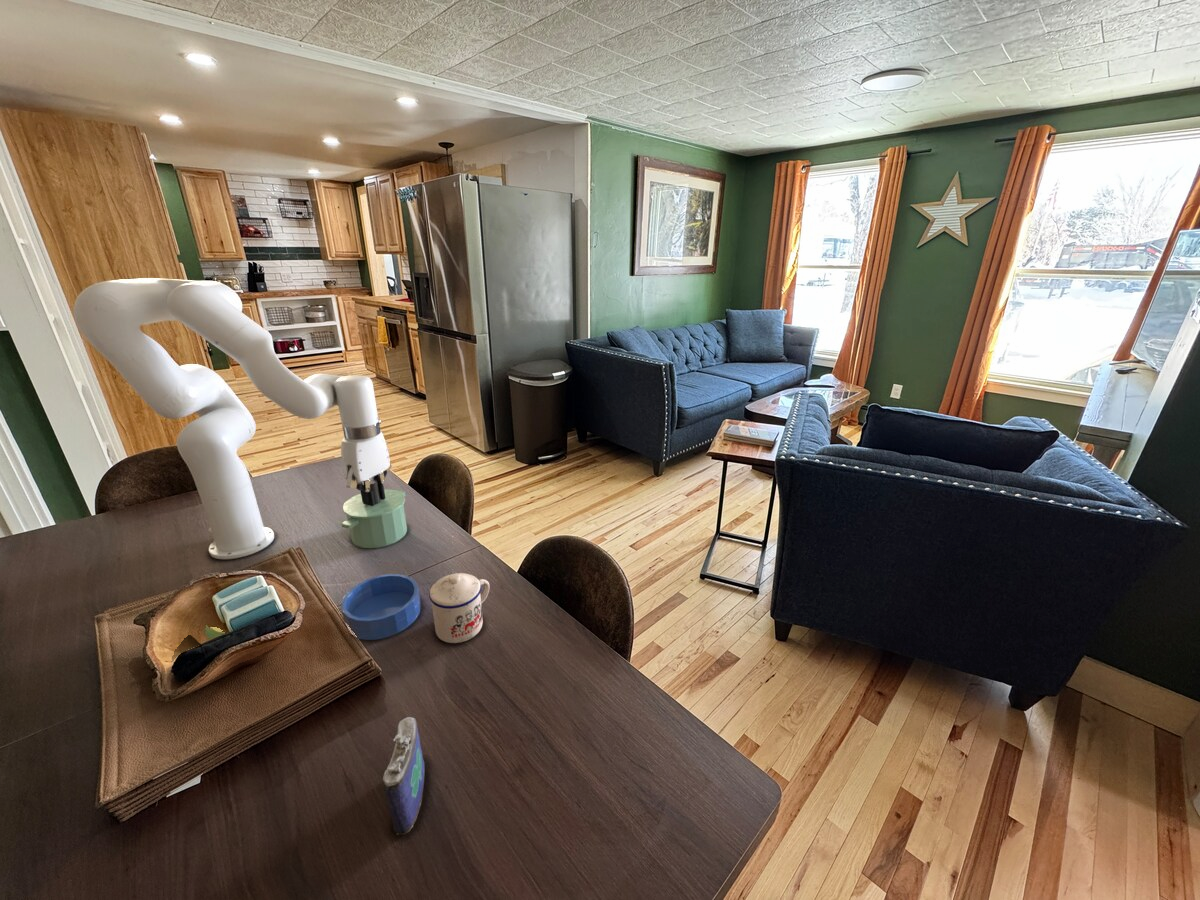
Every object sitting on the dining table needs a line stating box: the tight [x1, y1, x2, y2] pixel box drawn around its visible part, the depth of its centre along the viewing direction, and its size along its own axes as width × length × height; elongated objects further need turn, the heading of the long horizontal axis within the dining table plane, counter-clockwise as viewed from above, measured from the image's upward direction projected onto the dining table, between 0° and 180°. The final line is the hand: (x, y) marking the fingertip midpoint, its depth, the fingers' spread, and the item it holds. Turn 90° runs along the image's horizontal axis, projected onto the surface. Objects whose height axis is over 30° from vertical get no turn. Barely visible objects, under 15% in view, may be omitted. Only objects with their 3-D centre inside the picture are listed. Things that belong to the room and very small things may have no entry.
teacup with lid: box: [428, 572, 491, 644], centre depth 88 cm, size 12×9×12 cm
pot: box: [340, 490, 408, 549], centre depth 116 cm, size 13×18×8 cm
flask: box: [382, 716, 426, 836], centre depth 59 cm, size 9×3×11 cm, turn 8°
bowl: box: [340, 573, 422, 641], centre depth 91 cm, size 13×13×4 cm
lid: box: [342, 479, 406, 518], centre depth 114 cm, size 14×14×7 cm
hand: (374, 500), depth 114 cm, fingers closed on lid, 2 cm apart
